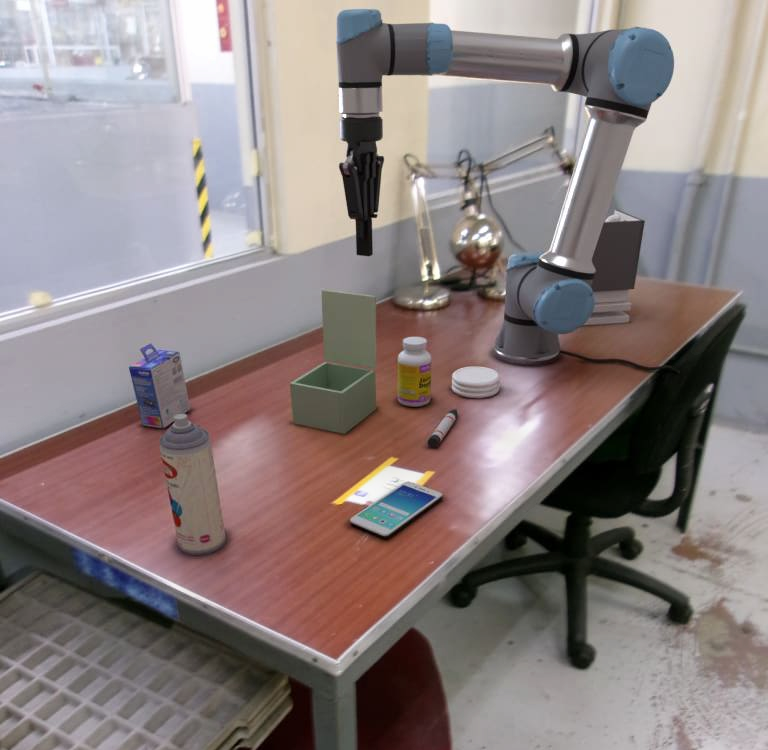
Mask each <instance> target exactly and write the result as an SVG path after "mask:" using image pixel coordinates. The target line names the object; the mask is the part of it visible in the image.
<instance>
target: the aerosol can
mask: <svg viewBox="0 0 768 750" xmlns="http://www.w3.org/2000/svg"><path fill="white" fill-rule="evenodd" d="M172 423H173V424H172V425H171V426H170V427H169V428H167V430H166V431H165V433H163V434H162V435H161V436H160V437H159V452H160V456H161V462H162V467H163V474H164V477H165V483H166V487H167V493H168V498H169V504H170V509H171V514H172V519H173V525H174V529H175V535H176V539H177V544H178V548H179V550H180V551H181V552H183V553H184V554H186V555H191V556H204V555H209V554H211V553H214V552H217V551H218V550H219V549H221V548H222V547H224V545H225V544H226V541H227V538H226V537H227V536H226V531H225V525H224V519H223V512H222V505H221V498H220V493H219V485H218V479H217V473H216V466H215V460H214V453H213V447H212V439H211V437H210V436H209V434H210V433H209V432H208V431H207V430H206V429H204V428H201V427H199V425H197V424H195V423H194V422H191V421H190V420H189V418H188V415H187V414H186V413H184V414H178V415H175V416H174V421H173V422H172Z"/></svg>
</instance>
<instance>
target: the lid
mask: <svg viewBox="0 0 768 750" xmlns="http://www.w3.org/2000/svg"><path fill="white" fill-rule="evenodd" d="M320 293H321V316H322V336H323V337H322V340H323V360H324V361H328V362H334V363H340V364H346V365H352V366H353V365H354V366H357V367H363V368H369V369H376V368H377V296H376V295H372V294H363V293H354V292H347V291H340V290H331V289H321V292H320Z"/></svg>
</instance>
